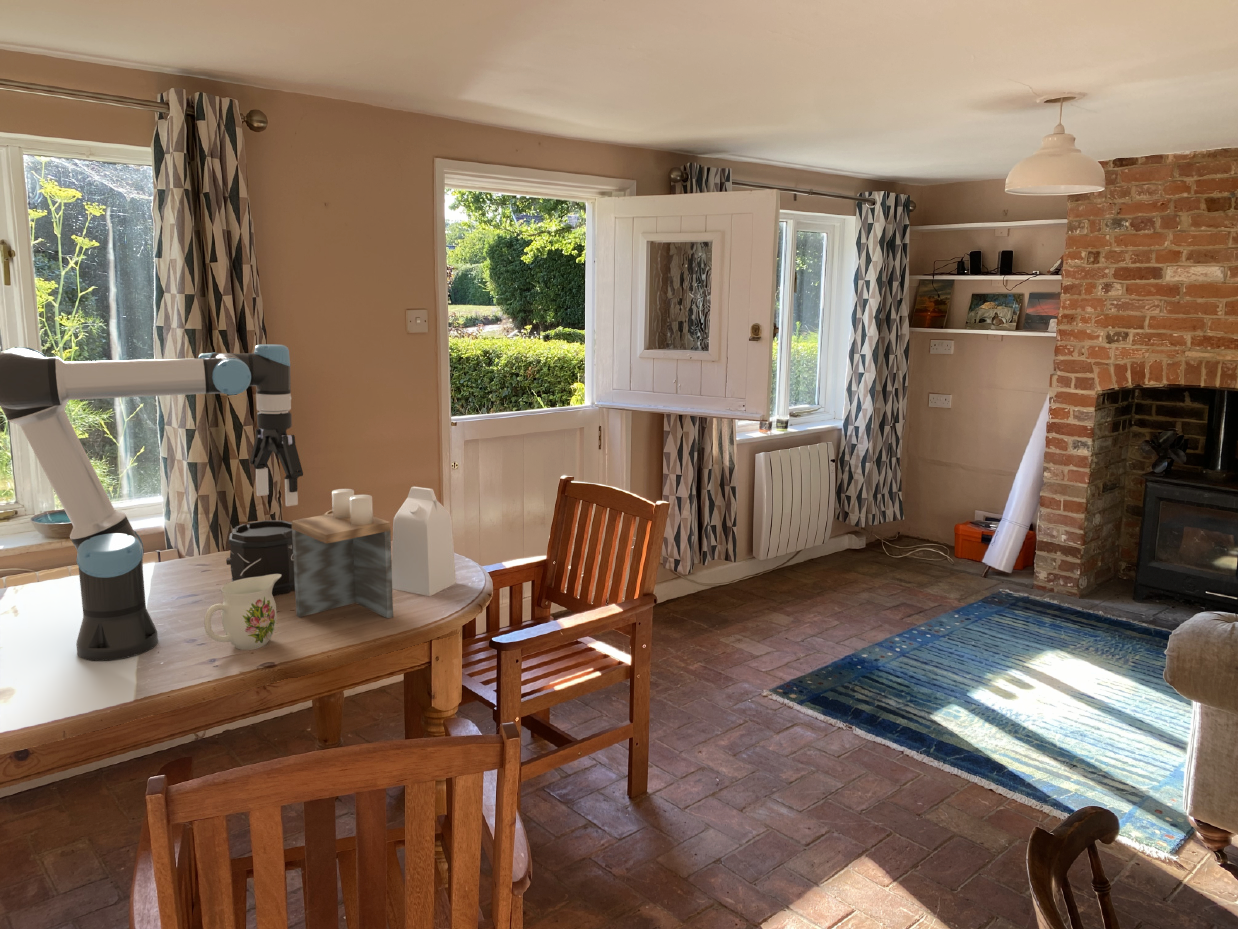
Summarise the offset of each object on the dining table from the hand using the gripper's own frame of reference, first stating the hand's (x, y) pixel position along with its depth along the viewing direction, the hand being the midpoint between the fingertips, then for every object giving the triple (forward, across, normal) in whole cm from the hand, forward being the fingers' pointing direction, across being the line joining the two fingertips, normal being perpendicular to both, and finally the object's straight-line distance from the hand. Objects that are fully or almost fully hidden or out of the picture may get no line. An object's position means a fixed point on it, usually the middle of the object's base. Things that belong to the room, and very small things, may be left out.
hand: (276, 500), depth 216 cm
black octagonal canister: (+26, +14, -4) cm, 30 cm away
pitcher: (+26, -18, +18) cm, 37 cm away
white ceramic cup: (+2, -22, -9) cm, 24 cm away
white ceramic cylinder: (+3, -14, -9) cm, 17 cm away
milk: (+25, -13, -33) cm, 43 cm away
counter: (+26, -18, -6) cm, 32 cm away
